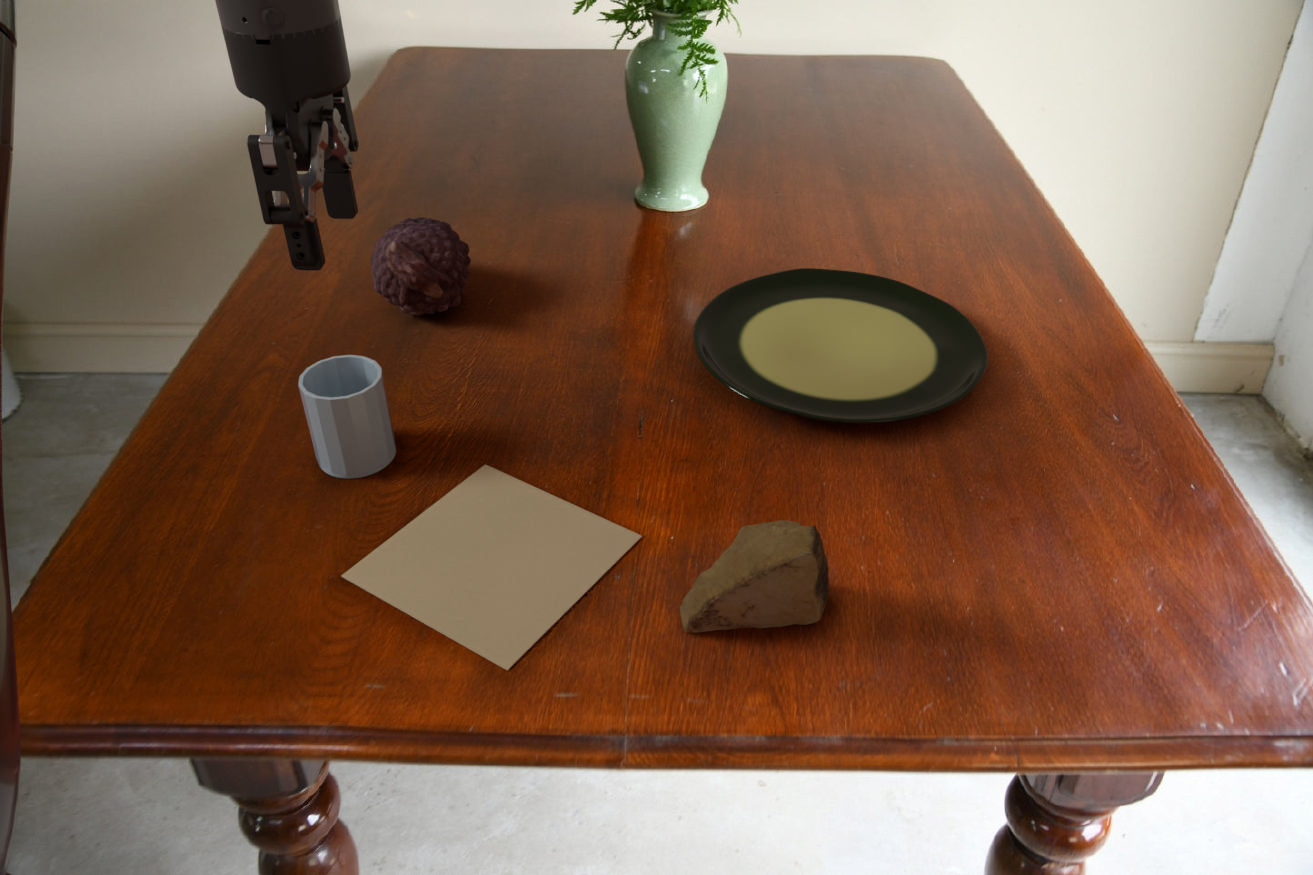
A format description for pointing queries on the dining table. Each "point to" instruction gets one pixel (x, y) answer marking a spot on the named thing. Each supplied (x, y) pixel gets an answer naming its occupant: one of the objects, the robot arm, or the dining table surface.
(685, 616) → the rock
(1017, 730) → the dining table surface
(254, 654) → the dining table surface
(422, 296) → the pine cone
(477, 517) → the mat
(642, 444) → the dining table surface
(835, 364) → the plate
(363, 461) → the cup
